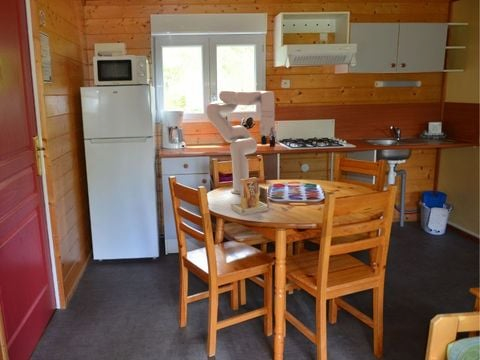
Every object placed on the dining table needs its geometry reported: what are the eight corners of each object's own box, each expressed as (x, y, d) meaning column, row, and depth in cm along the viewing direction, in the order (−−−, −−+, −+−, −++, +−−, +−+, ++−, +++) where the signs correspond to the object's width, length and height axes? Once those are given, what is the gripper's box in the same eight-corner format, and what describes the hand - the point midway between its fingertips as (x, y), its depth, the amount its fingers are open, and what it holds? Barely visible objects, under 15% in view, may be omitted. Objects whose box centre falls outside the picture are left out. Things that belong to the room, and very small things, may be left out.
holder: (241, 202, 238) (240, 189, 236) (260, 198, 243) (260, 186, 242) (247, 205, 231) (246, 192, 230) (267, 201, 237) (267, 189, 235)
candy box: (255, 205, 227) (254, 176, 224) (259, 207, 223) (258, 178, 220) (240, 208, 223) (239, 179, 220) (244, 209, 219) (243, 180, 216)
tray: (231, 209, 226) (231, 204, 225) (256, 204, 232) (256, 199, 232) (242, 215, 214) (242, 210, 214) (268, 210, 221) (268, 205, 220)
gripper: (254, 113, 239) (255, 144, 243) (269, 115, 224) (269, 148, 228) (266, 113, 243) (266, 143, 246) (281, 114, 227) (282, 147, 231)
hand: (268, 145), depth 237 cm, fingers open, 9 cm apart
